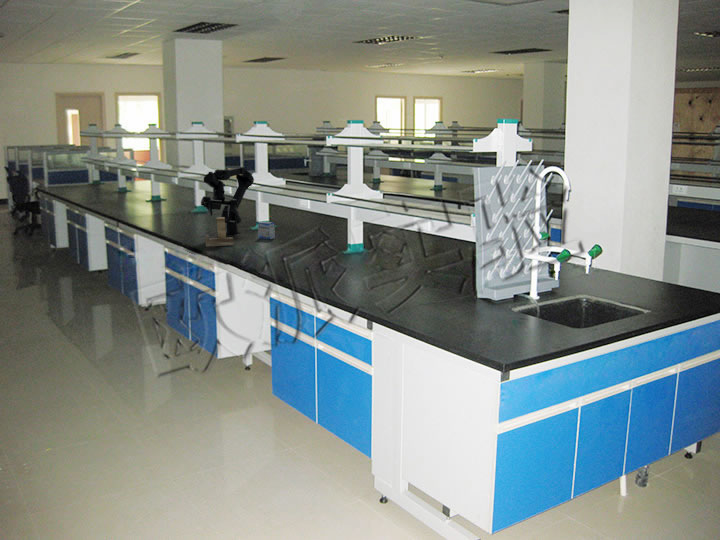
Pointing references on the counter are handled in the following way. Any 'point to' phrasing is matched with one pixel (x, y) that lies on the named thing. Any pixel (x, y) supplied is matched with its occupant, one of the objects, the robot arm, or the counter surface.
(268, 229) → the medicine box
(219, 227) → the oak plank block
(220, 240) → the lock board
